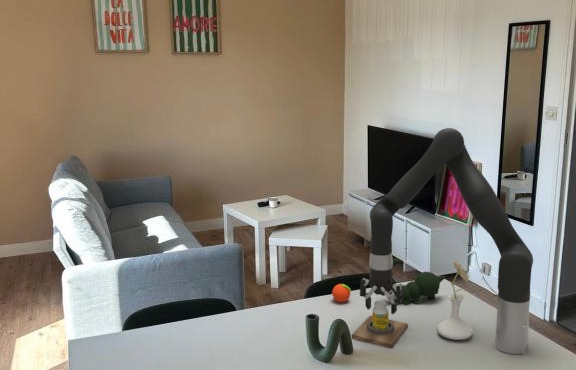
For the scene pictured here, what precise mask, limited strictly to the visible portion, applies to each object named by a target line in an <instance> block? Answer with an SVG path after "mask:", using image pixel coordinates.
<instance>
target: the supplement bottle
mask: <svg viewBox="0 0 576 370" xmlns="http://www.w3.org/2000/svg"><path fill="white" fill-rule="evenodd" d="M373 304H374V305H373V306H374V307H373V308H372V309H371V312H372V315H371V316H372V321H373V322H372V323H373V328H374V329H377V330H386V329H388V319H389V309H388V307H387V302H386V301H385V300H382V299H379V300H375V301H374V303H373Z"/></svg>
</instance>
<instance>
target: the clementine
mask: <svg viewBox="0 0 576 370" xmlns="http://www.w3.org/2000/svg"><path fill="white" fill-rule="evenodd" d="M351 292H352V289H351V288H350V287H349V286H348V285H346V284H344V283H338V284H337V285H334V287H333V288H332V291H331V294H332V297H333V299H334V300H335V301H336V302H338V303H344V302H347V301H348V300H349V298H350V297H351Z"/></svg>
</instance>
